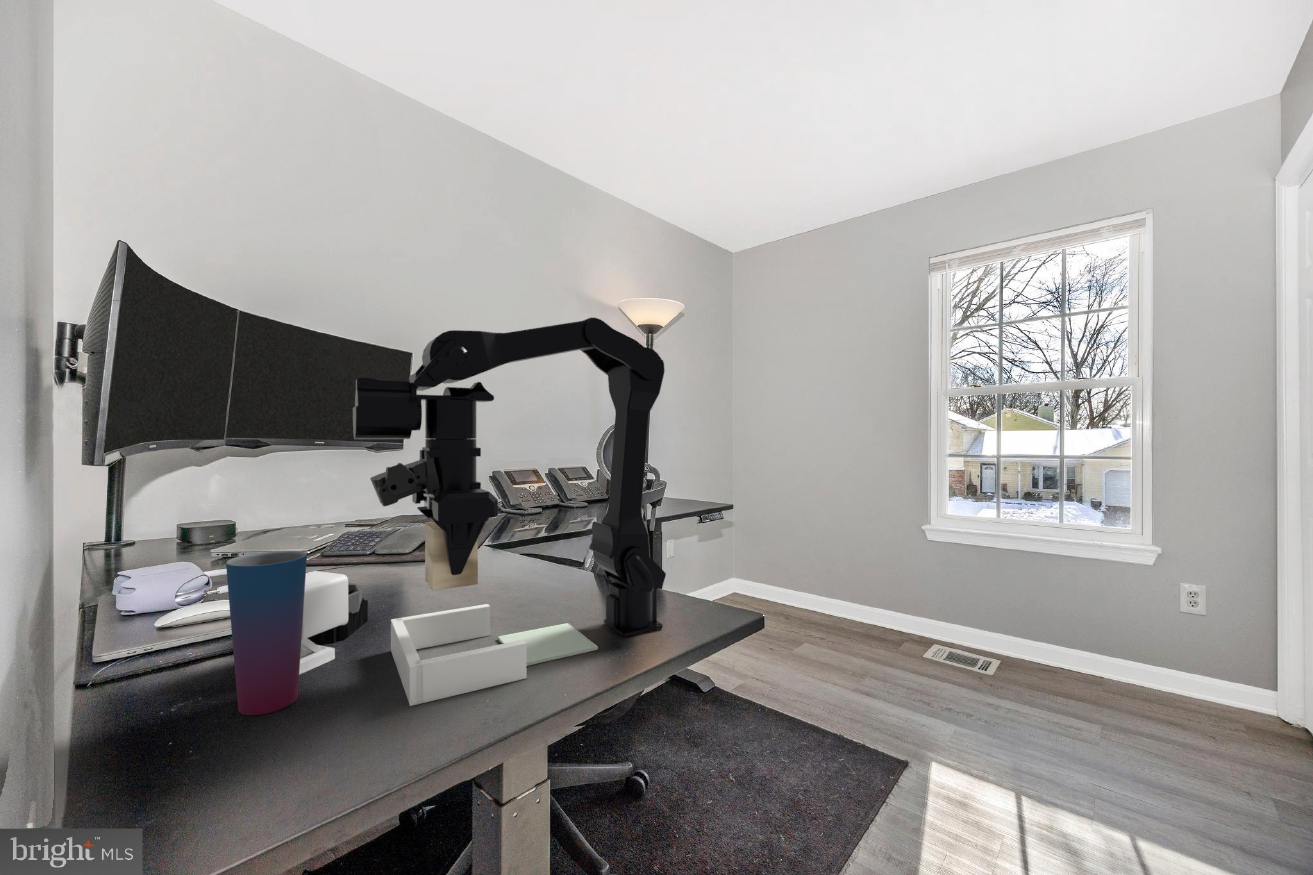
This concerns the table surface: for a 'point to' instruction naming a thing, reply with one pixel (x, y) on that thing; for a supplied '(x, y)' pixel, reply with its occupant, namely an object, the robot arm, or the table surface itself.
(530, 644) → the sage mat
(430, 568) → the maple block
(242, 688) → the cup
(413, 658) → the cubby
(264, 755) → the table surface
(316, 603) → the security camera
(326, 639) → the black and grey container
